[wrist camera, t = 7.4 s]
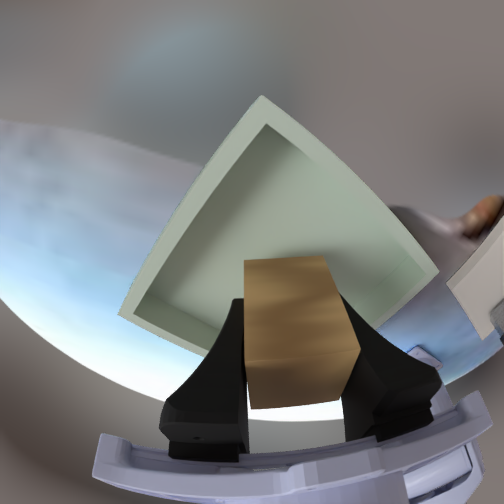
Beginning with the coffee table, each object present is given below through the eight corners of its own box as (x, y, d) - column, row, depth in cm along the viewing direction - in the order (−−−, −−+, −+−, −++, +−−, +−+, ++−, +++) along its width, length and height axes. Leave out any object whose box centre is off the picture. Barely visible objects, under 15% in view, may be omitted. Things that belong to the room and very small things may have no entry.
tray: (417, 246, 16) (439, 271, 14) (286, 359, 22) (290, 388, 19) (258, 96, 11) (262, 95, 9) (131, 283, 17) (117, 314, 15)
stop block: (322, 255, 13) (360, 348, 8) (315, 311, 16) (338, 400, 10) (243, 260, 13) (244, 361, 8) (248, 316, 16) (250, 409, 11)
